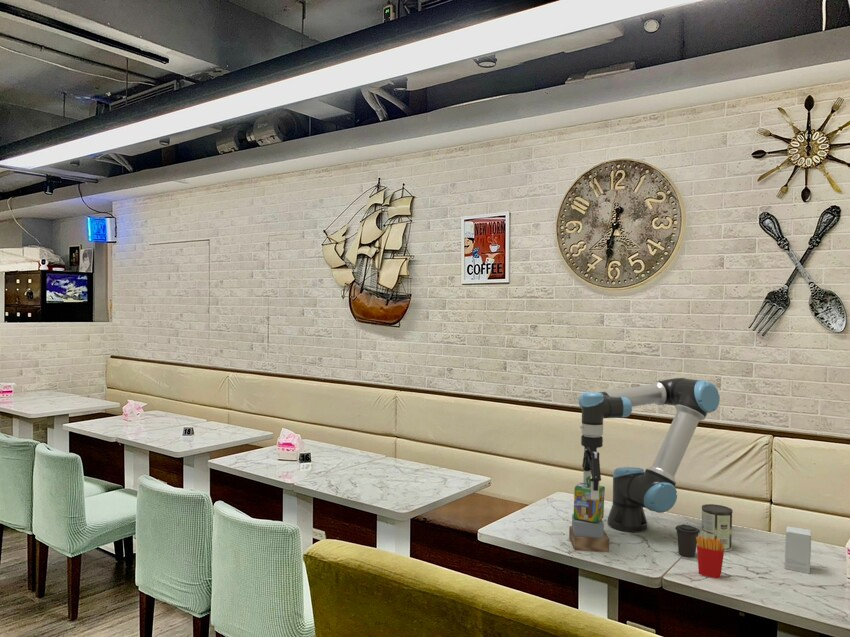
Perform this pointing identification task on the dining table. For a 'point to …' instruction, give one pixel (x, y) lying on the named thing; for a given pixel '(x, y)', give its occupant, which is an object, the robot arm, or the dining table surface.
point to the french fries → (710, 556)
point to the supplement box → (797, 549)
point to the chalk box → (588, 503)
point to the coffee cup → (687, 540)
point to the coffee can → (717, 524)
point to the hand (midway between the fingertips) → (590, 493)
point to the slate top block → (587, 528)
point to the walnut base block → (589, 542)
